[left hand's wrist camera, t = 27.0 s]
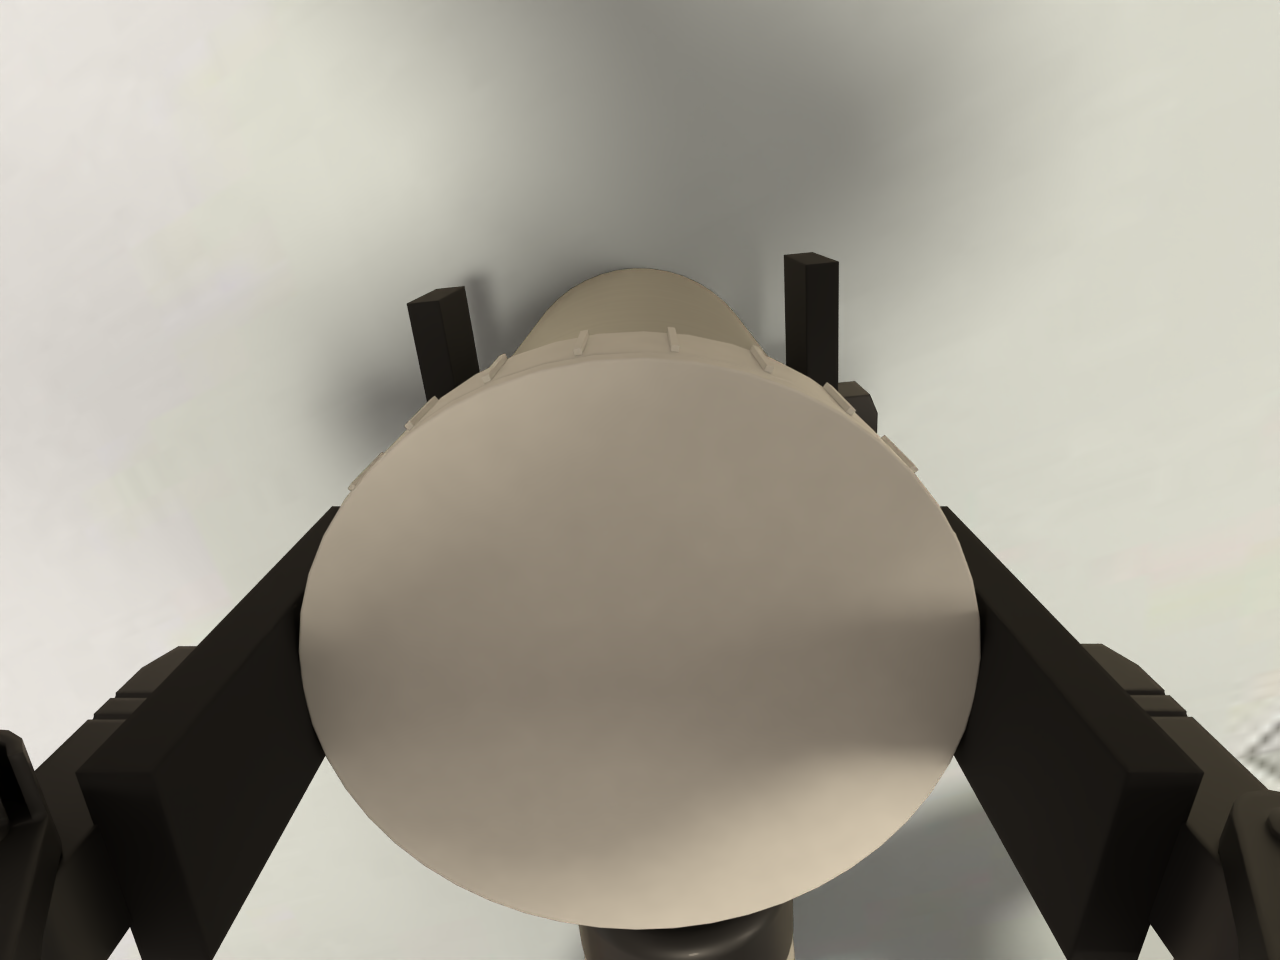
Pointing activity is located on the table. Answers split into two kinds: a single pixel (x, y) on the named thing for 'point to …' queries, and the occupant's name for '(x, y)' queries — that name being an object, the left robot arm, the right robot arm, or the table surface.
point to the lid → (639, 634)
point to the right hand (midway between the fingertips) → (621, 277)
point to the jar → (639, 310)
